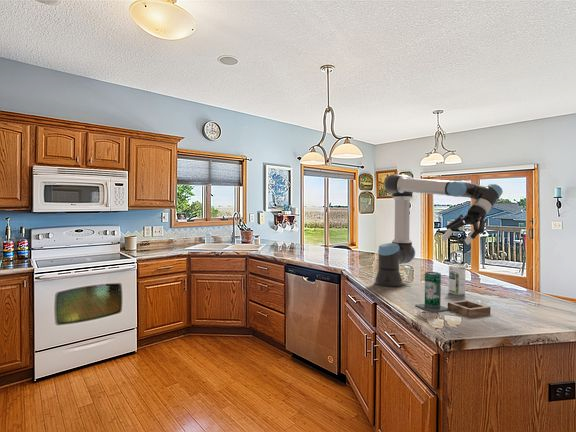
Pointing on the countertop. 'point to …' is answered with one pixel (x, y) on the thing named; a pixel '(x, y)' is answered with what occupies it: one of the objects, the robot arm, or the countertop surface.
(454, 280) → the syrup box
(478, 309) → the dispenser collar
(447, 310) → the mat
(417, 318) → the countertop surface
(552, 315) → the countertop surface
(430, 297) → the can
